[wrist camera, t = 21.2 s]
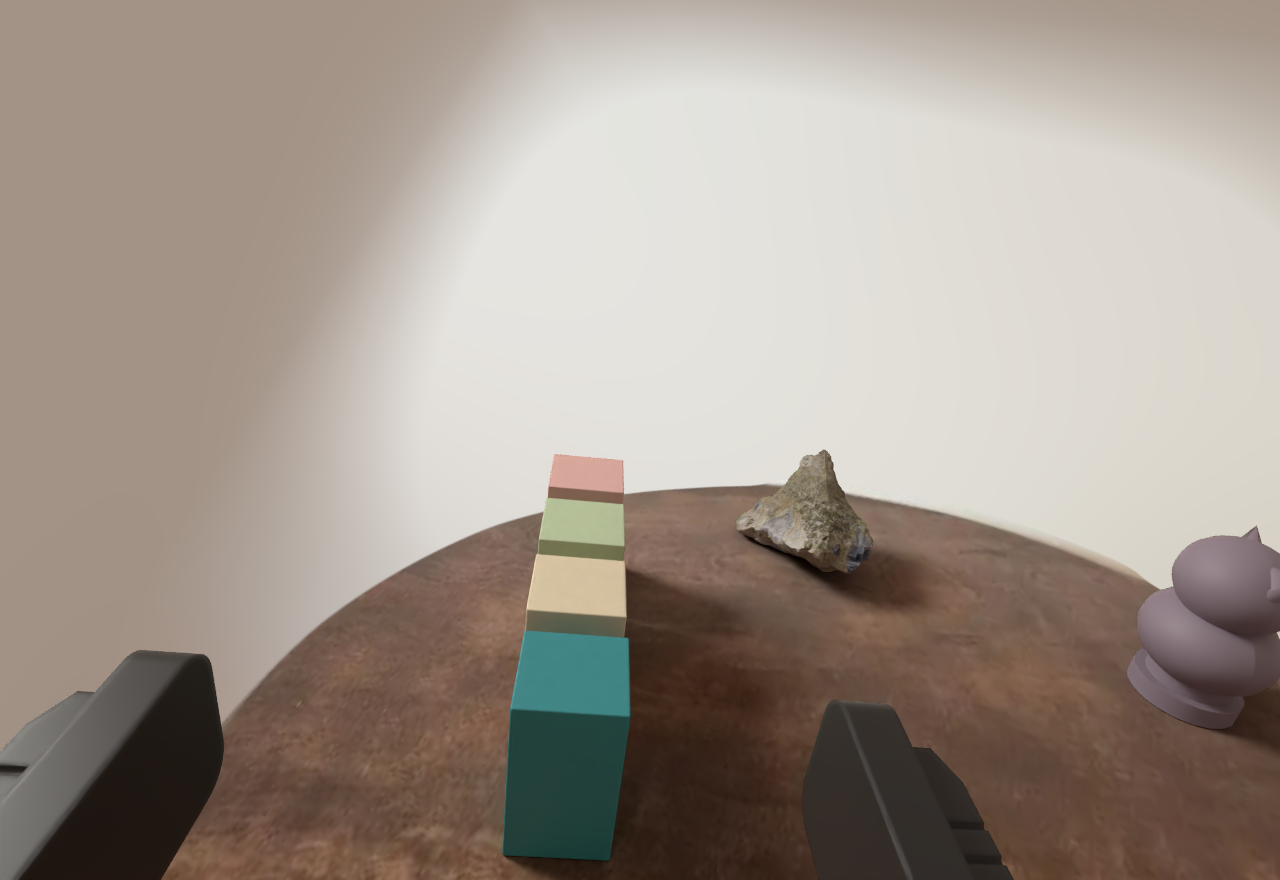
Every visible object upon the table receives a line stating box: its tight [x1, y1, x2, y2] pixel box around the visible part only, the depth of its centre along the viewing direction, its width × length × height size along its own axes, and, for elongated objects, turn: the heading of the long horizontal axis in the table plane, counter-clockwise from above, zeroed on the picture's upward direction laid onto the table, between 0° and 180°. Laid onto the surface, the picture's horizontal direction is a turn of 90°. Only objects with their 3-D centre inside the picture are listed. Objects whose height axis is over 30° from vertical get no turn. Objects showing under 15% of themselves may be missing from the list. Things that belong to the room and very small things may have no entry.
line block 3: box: [525, 554, 627, 638], centre depth 40 cm, size 5×5×9 cm
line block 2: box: [538, 498, 625, 561], centre depth 46 cm, size 5×5×9 cm
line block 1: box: [548, 454, 624, 504], centre depth 51 cm, size 5×5×9 cm
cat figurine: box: [1127, 526, 1280, 729], centre depth 47 cm, size 8×8×12 cm
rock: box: [736, 450, 873, 574], centre depth 59 cm, size 11×6×10 cm
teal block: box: [502, 631, 631, 861], centre depth 34 cm, size 5×5×9 cm
